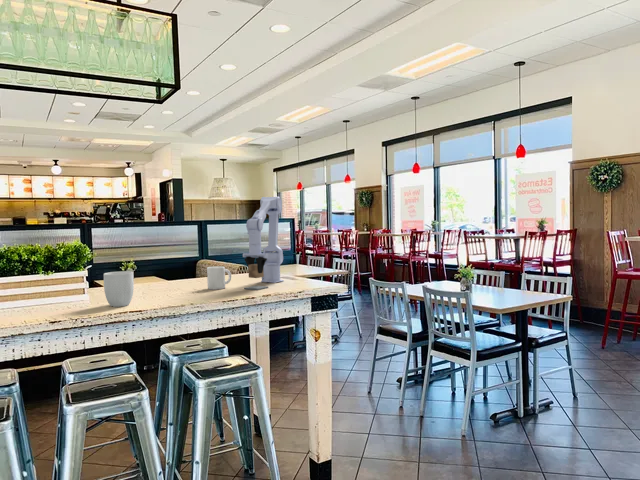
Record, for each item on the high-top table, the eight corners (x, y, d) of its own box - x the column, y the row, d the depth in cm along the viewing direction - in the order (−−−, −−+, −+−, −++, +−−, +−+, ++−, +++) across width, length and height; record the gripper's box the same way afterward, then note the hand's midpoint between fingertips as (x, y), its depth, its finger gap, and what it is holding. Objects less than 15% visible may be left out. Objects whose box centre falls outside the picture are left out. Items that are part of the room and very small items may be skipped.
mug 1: (113, 301, 202) (111, 270, 201) (140, 300, 203) (139, 269, 202) (100, 308, 187) (99, 274, 186) (130, 307, 188) (128, 273, 187)
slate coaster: (244, 289, 229) (244, 287, 229) (255, 286, 236) (255, 285, 236) (256, 290, 225) (256, 289, 225) (268, 287, 231) (268, 286, 231)
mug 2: (228, 285, 241) (227, 265, 240) (235, 287, 234) (234, 266, 234) (205, 288, 234) (204, 267, 234) (211, 290, 227) (211, 268, 227)
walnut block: (248, 277, 229) (248, 264, 229) (255, 276, 233) (255, 263, 233) (256, 278, 226) (256, 265, 226) (263, 276, 231) (263, 264, 230)
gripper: (237, 244, 230) (238, 272, 231) (260, 244, 222) (261, 274, 222) (248, 243, 236) (249, 271, 236) (271, 244, 227) (271, 272, 228)
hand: (255, 272), depth 230 cm, fingers closed on walnut block, 5 cm apart
